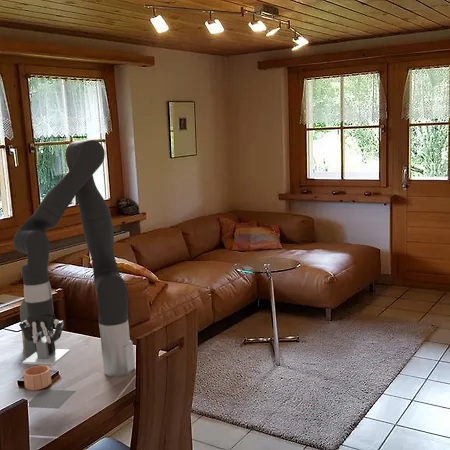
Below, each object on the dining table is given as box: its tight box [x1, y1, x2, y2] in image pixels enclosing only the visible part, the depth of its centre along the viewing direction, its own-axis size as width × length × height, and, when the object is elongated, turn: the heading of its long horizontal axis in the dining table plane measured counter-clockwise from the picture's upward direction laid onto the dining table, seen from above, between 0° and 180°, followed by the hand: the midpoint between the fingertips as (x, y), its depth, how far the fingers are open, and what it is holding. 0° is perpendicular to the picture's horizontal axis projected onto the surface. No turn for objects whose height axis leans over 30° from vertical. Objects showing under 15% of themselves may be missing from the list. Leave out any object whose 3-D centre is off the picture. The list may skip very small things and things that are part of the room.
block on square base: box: [21, 336, 71, 366], centre depth 172 cm, size 10×10×6 cm
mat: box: [27, 389, 76, 409], centre depth 175 cm, size 11×11×1 cm
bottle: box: [19, 297, 44, 360], centre depth 204 cm, size 9×9×30 cm
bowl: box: [22, 364, 53, 391], centre depth 185 cm, size 8×8×5 cm
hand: (45, 353), depth 172 cm, fingers closed on block on square base, 3 cm apart
